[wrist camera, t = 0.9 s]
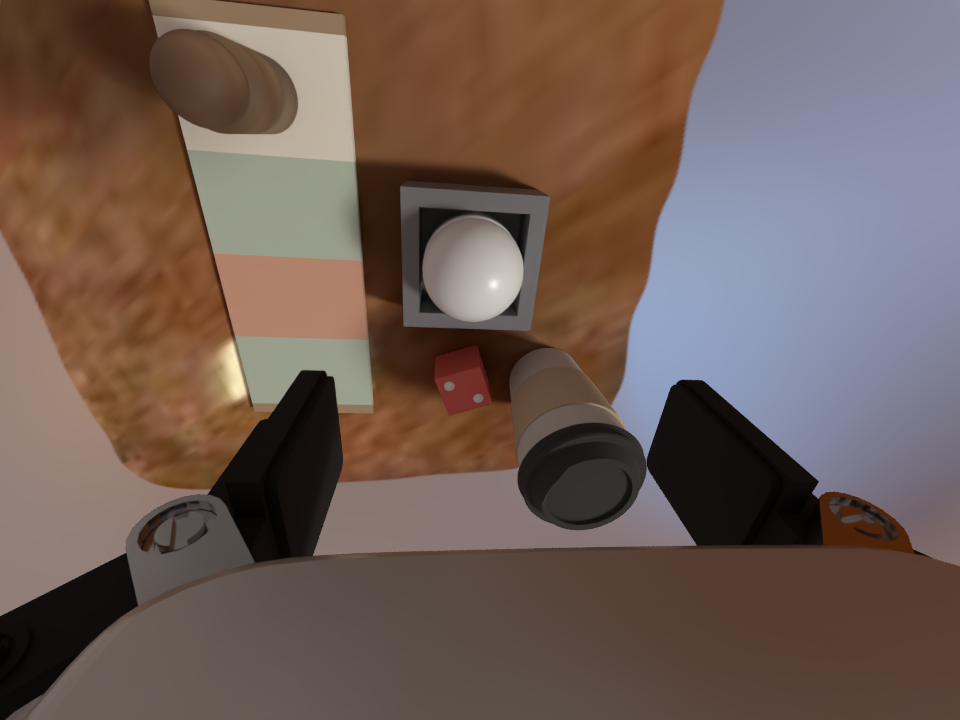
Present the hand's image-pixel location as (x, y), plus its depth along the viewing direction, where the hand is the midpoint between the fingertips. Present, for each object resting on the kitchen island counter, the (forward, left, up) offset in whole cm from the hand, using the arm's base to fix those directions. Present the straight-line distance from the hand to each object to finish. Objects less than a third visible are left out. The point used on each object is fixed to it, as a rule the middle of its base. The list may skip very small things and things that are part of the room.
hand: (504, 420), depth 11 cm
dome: (+1, 0, -22) cm, 22 cm away
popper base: (+1, 0, -24) cm, 24 cm away
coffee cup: (+13, +8, -24) cm, 28 cm away
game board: (+2, -14, -24) cm, 27 cm away
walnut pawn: (-8, -14, -23) cm, 28 cm away
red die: (+12, 0, -24) cm, 27 cm away
